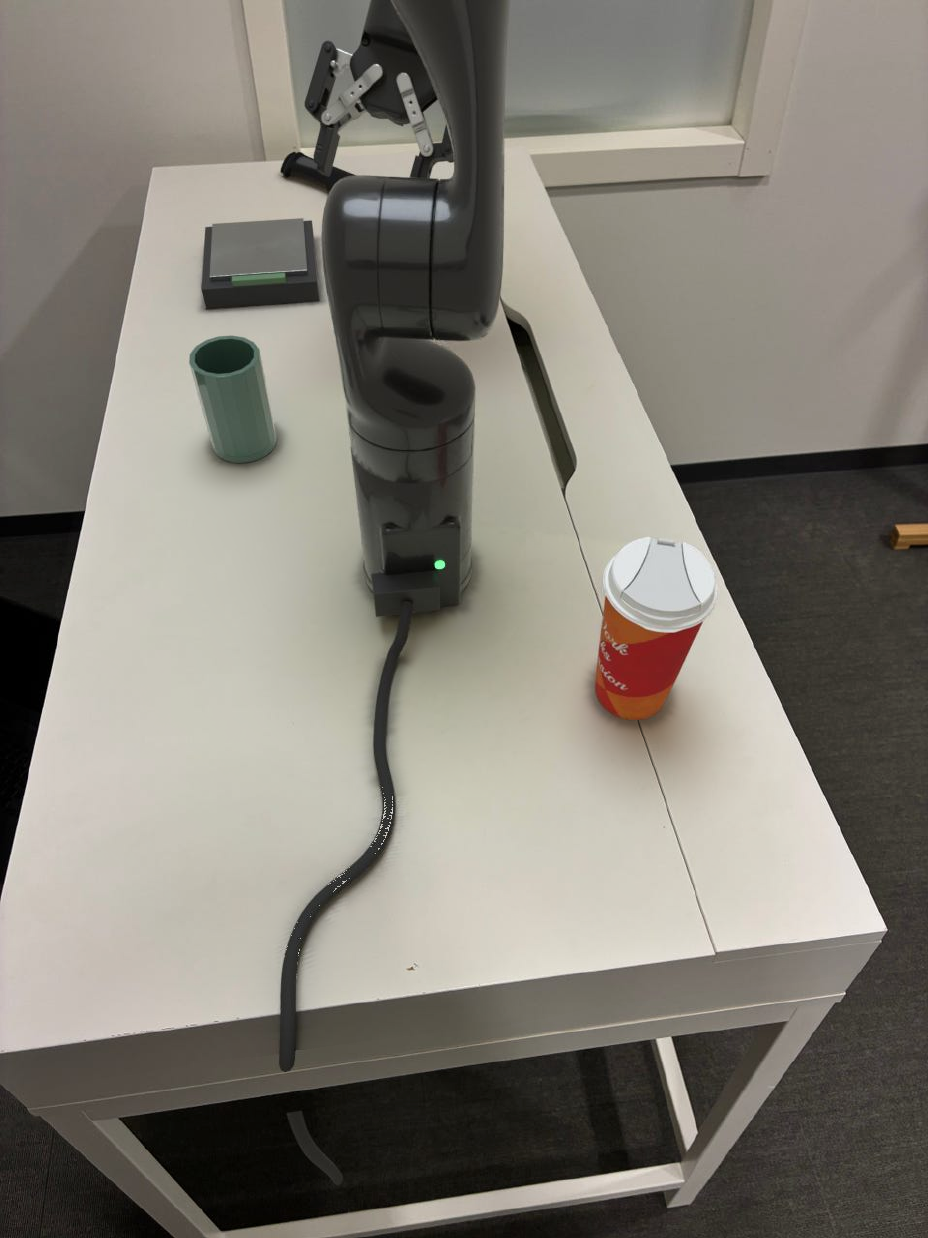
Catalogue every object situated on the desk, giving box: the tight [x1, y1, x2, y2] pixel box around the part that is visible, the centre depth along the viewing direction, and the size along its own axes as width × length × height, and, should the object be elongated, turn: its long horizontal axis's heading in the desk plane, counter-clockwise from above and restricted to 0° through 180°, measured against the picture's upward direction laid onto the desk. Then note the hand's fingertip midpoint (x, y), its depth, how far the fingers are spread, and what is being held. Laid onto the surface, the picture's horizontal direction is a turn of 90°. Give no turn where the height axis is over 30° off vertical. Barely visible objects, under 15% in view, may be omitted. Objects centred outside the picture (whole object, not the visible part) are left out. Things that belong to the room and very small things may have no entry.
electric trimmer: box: [280, 151, 355, 192], centre depth 118 cm, size 4×16×3 cm, turn 54°
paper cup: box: [594, 536, 719, 721], centre depth 64 cm, size 8×8×14 cm
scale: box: [200, 217, 321, 310], centre depth 105 cm, size 14×13×3 cm
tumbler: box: [188, 335, 277, 464], centre depth 83 cm, size 6×6×10 cm
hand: (366, 187), depth 81 cm, fingers open, 8 cm apart
